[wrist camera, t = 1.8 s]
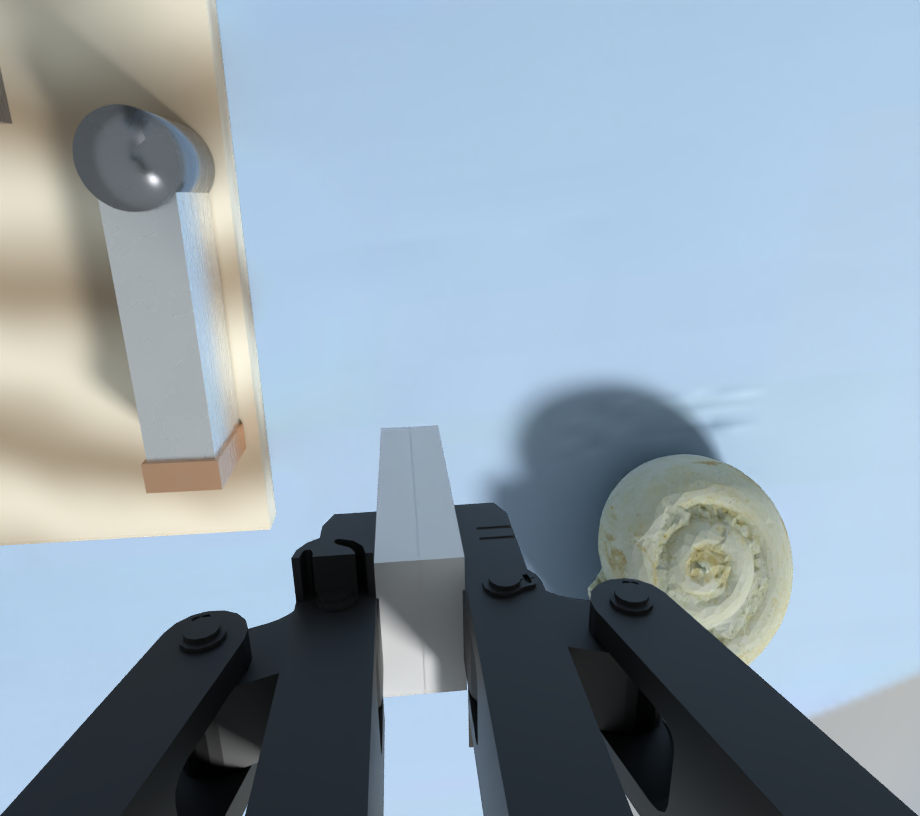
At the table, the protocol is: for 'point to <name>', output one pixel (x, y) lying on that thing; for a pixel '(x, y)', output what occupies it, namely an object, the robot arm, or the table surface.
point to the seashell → (702, 546)
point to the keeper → (4, 104)
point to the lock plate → (104, 275)
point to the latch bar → (166, 291)
